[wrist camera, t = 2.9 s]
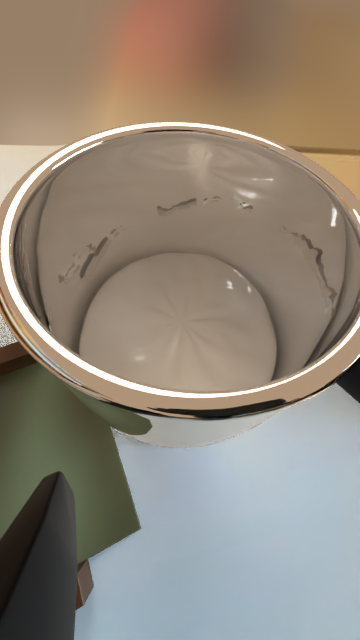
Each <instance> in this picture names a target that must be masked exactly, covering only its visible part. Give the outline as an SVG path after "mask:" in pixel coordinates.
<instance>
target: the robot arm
mask: <svg viewBox="0 0 360 640" xmlns="http://www.w3.org/2000/svg"><path fill="white" fill-rule="evenodd" d="M336 383H337V384H338V385H339V386H341V387H342V388H343V389H344V390H345V391H346V392H347V393H348V394H350V395H351V396H352V397H353V398H354V399H355V400H356V401H358V402H359V403H360V361H359V363H358V364H357V365H356V366H355V367H354V368H353V369H352V370H351V371H350V372H349V373H347V374H346V375H345V376H344V377H343V378H342V379H340V380H339V381H338V382H336ZM76 592H77V538H76V514H75V497H74V493H73V491H72V489H71V487H70V485H69V483H68V481H67V479H66V478H65V476H64V474H63V473H62V472H61V471H57V472H54V473H52V474H50V475H47V476H46V477H44V478H43V479H42V480H41V482H40V483H39V484H38V486H37V487H36V489H35V490H34V492H33V493H32V495H31V496H30V497H29V499H28V500H27V502H26V503H25V505H24V506H23V507H22V509H21V510H20V512H19V513H18V515H17V516H16V518H15V519H14V520H13V522H12V523H11V525H10V526H9V528H8V529H7V531H6V532H5V533H4V535H3V536H2V538H1V539H0V640H74V629H75V610H76Z"/></svg>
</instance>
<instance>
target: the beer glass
mask: <svg viewBox="0 0 360 640" xmlns="http://www.w3.org/2000/svg"><path fill="white" fill-rule="evenodd" d="M0 314H1V316H2V318H3V320H4V322H5V323H6V325H7V327H8V328H9V330H10V331H11V333H12V334H13V335H14V337H15V338H16V339H17V341H18V342H19V343H20V344H21V346H22V347H23V348H24V349H25V350H26V351H27V352H28V353H29V354H30V355H31V356H32V357H33V358H34V359H35V360H36V361H37V362H38V363H39V364H40V365H41V366H43V367H44V368H45V369H46V370H48V371H49V372H50V373H51V374H53V375H54V376H56V377H57V378H59V379H60V380H61V381H62V383H63V384H64V385H65V386H66V387H67V388H68V389H69V390H70V391H71V392H72V393H73V394H74V395H75V396H76V397H77V398H78V399H79V400H80V401H81V402H82V403H83V404H84V405H85V406H86V407H87V408H88V409H89V410H90V411H91V412H93V413H94V414H95V415H96V416H98V417H99V418H100V419H102V420H103V421H105V422H106V423H107V424H109V425H110V426H112V427H113V428H115V429H116V430H118V431H119V432H121V433H123V434H125V435H127V436H129V437H131V438H133V439H136V440H138V441H141V442H144V443H147V444H151V445H155V446H161V447H168V448H194V447H202V446H207V445H211V444H215V443H218V442H221V441H224V440H227V439H229V438H232V437H235V436H237V435H240V434H242V433H244V432H246V431H248V430H250V429H252V428H254V427H256V426H257V425H259V424H261V423H263V422H265V421H266V420H268V419H270V418H272V417H273V416H275V415H276V414H278V413H280V412H281V411H283V410H284V409H287V408H290V407H292V406H295V405H297V404H300V403H302V402H304V401H306V400H308V399H310V398H313V397H314V396H316V395H318V394H320V393H321V392H323V391H325V390H326V389H328V388H329V387H331V386H332V385H334V384H335V383H336V382H338V381H339V380H340V379H342V378H343V377H344V376H345V375H346V374H347V373H349V372H350V371H351V370H352V369H353V368H354V367H355V366H356V365H357V364H358V363H359V361H360V201H359V200H358V199H357V198H356V196H355V195H354V194H353V193H352V192H351V191H350V190H349V189H348V188H347V187H346V186H345V185H344V184H343V183H342V182H341V181H339V180H338V179H337V178H336V177H335V176H334V175H332V174H331V173H330V172H328V171H327V170H326V169H324V168H323V167H322V166H320V165H319V164H317V163H316V162H314V161H313V160H311V159H309V158H308V157H306V156H304V155H303V154H301V153H299V152H297V151H295V150H293V149H291V148H289V147H287V146H285V145H283V144H280V143H278V142H276V141H273V140H271V139H268V138H265V137H262V136H259V135H256V134H253V133H250V132H246V131H243V130H239V129H235V128H230V127H225V126H220V125H214V124H206V123H196V122H176V121H175V122H174V121H172V122H171V121H170V122H169V121H168V122H149V123H140V124H133V125H127V126H122V127H117V128H112V129H108V130H105V131H101V132H98V133H95V134H92V135H90V136H87V137H84V138H81V139H79V140H77V141H74V142H72V143H70V144H68V145H66V146H64V147H62V148H60V149H58V150H57V151H55V152H53V153H52V154H50V155H49V156H47V157H46V158H44V159H43V160H41V161H40V162H39V163H37V164H36V165H35V166H34V167H32V168H31V169H30V170H29V171H28V172H27V173H26V174H25V175H24V176H23V177H22V178H21V179H20V180H19V181H18V182H17V183H16V184H15V185H14V187H13V188H12V189H11V190H10V192H9V193H8V195H7V196H6V197H5V199H4V201H3V202H2V204H1V206H0Z"/></svg>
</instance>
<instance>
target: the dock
mask: <svg viewBox="0 0 360 640" xmlns="http://www.w3.org/2000/svg"><path fill="white" fill-rule="evenodd" d="M57 471H61V472H62V473H63V474H64V476H65V478H66V479H67V481H68V483H69V485H70V487H71V489H72V491H73V493H74V497H75V514H76V538H77V592H76V610H77V609H78V608H80V607H82V606H83V605H84V603H85V601H86V600H87V598H88V596H89V594H90V592H91V590H92V588H93V581H92V576H91V572H90V567H89V562H88V558H90V557H92V556H94V555H95V554H97V553H99V552H101V551H102V550H104V549H106V548H108V547H109V546H111V545H113V544H114V543H116V542H118V541H120V540H121V539H123V538H125V537H127V536H128V535H130V534H132V533H134V532H135V531H137V530H139V529H140V528H141V526H140V523H139V520H138V516H137V513H136V510H135V506H134V503H133V500H132V496H131V493H130V490H129V486H128V483H127V480H126V476H125V473H124V470H123V466H122V463H121V460H120V456H119V453H118V450H117V446H116V443H115V440H114V436H113V433H112V430H111V426H110V425H109V424H107V423H106V422H105V421H103V420H102V419H100V418H99V417H98V416H96V415H95V414H94V413H93V412H91V411H90V410H89V409H88V408H87V407H86V406H85V405H84V404H83V403H82V402H81V401H80V400H79V399H78V398H77V397H76V396H75V395H74V394H73V393H72V392H71V391H70V390H69V389H68V388H67V387H66V386H65V385H64V384H63V383H62V381H61V380H60V379H59V378H57V377H56V376H54V375H53V374H51V373H50V372H49V371H48V370H46V369H45V368H44V367H43V366H41V365H40V364H39V363H38V362H37V361H36V360H35V359H34V358H33V357H32V356H31V355H30V354H29V353H28V352H27V351H26V350H25V349H24V348H23V347H22V346H21V344H20V343H19V342H16V343H13V344H10V345H7V346H4V347H1V348H0V539H1V538H2V536H3V535H4V533H5V532H6V531H7V529H8V528H9V526H10V525H11V523H12V522H13V520H14V519H15V518H16V516H17V515H18V513H19V512H20V510H21V509H22V507H23V506H24V505H25V503H26V502H27V500H28V499H29V497H30V496H31V495H32V493H33V492H34V490H35V489H36V487H37V486H38V484H39V483H40V482H41V480H42V479H43V478H44V477H46V476H47V475H50V474H52V473H54V472H57Z"/></svg>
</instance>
